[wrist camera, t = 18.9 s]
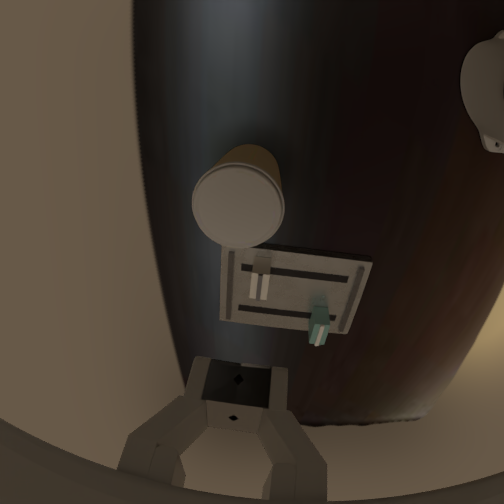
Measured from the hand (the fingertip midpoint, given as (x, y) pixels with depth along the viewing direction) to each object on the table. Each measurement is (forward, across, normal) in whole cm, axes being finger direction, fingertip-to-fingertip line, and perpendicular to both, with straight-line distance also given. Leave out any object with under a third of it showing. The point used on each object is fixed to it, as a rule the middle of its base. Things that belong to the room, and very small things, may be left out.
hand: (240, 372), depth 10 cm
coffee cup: (+34, +3, +5) cm, 35 cm away
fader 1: (+32, 0, +19) cm, 38 cm away
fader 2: (+32, -10, +27) cm, 43 cm away
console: (+34, -5, +23) cm, 41 cm away
